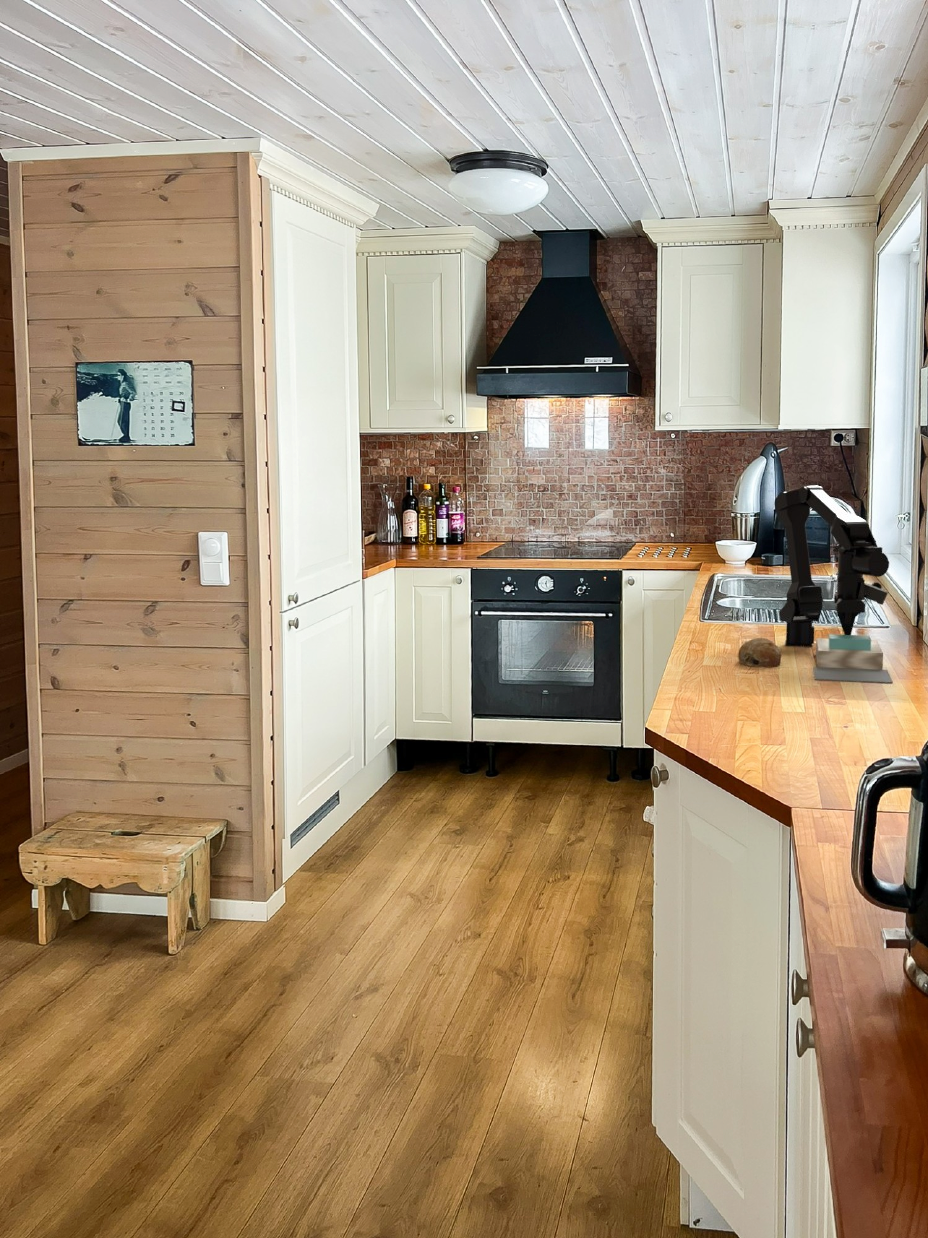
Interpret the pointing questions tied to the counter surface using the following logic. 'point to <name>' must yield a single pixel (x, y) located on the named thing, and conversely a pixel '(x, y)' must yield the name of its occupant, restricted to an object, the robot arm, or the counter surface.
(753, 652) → the brown rounded dome
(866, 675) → the mat
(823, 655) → the board
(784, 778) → the counter surface
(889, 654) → the counter surface
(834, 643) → the teal rectangular block
